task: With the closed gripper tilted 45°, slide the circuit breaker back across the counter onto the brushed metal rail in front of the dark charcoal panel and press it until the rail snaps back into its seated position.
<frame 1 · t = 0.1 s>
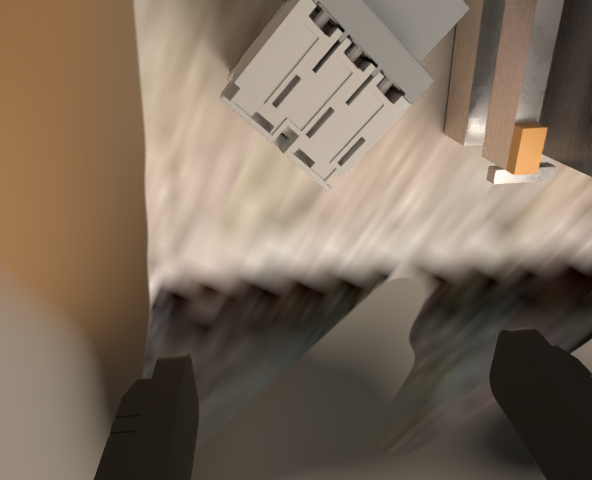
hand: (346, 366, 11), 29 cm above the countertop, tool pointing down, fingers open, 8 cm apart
circuit breaker: (323, 33, 35), on the countertop
din rail panel: (519, 24, 35), on the countertop
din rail: (503, 28, 30), point 6 cm above the countertop, slide at 0.0 cm
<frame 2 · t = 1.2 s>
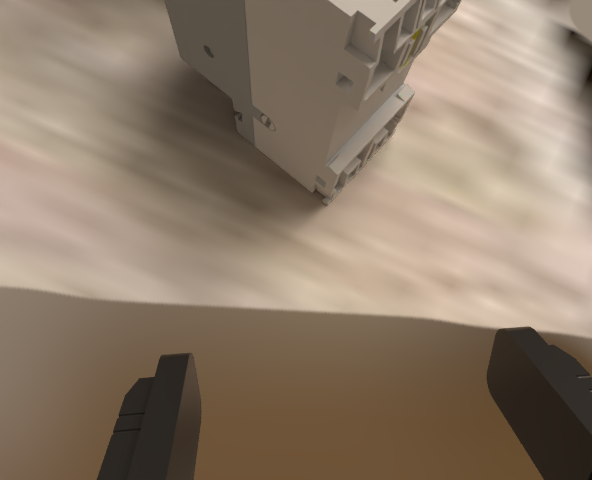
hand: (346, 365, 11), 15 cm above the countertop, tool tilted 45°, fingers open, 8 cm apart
circuit breaker: (283, 108, 31), on the countertop
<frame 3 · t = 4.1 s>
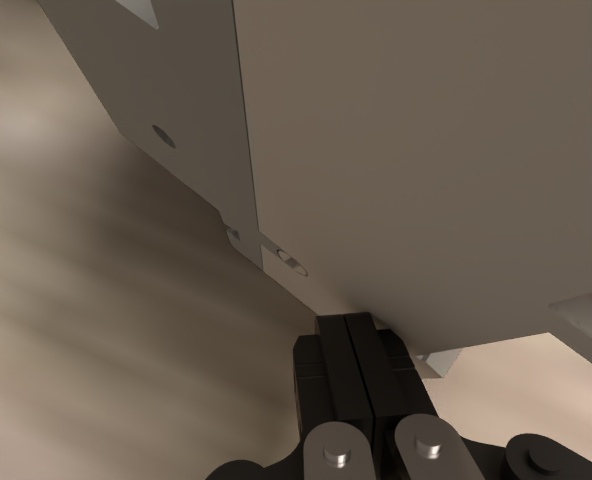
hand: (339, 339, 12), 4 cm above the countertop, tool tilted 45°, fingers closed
circuit breaker: (308, 196, 19), on the countertop, touching gripper
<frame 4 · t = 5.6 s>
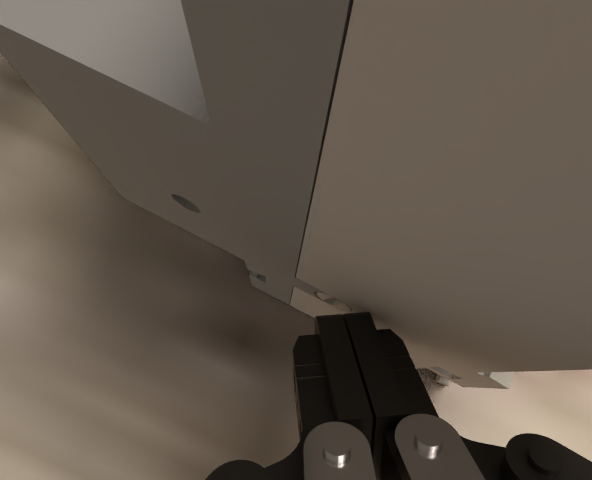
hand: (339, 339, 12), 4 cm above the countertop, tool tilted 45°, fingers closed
circuit breaker: (317, 218, 18), on the countertop, touching gripper
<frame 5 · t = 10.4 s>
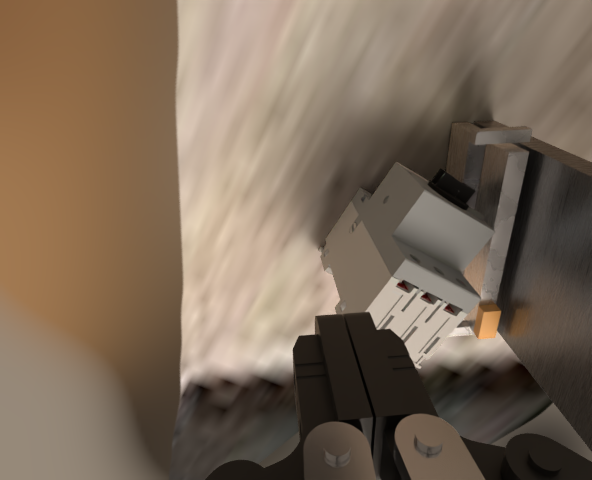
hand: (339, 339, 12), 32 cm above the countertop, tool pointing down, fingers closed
circuit breaker: (383, 210, 46), on the countertop
din rail panel: (470, 201, 47), on the countertop
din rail: (473, 227, 41), point 6 cm above the countertop, slide at 2.1 cm
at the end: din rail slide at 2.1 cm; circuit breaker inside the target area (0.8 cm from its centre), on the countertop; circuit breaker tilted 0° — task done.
